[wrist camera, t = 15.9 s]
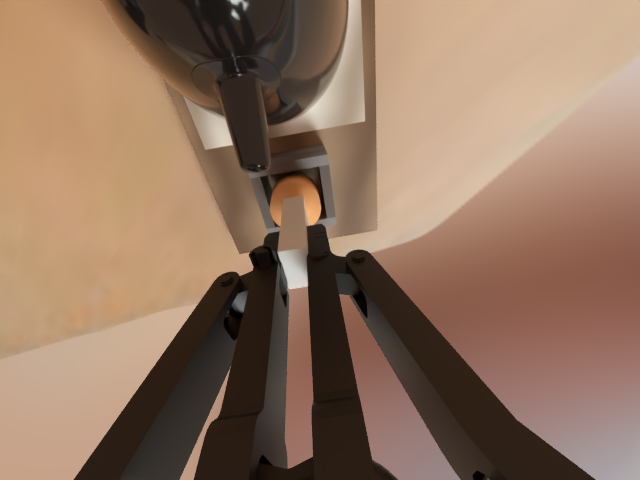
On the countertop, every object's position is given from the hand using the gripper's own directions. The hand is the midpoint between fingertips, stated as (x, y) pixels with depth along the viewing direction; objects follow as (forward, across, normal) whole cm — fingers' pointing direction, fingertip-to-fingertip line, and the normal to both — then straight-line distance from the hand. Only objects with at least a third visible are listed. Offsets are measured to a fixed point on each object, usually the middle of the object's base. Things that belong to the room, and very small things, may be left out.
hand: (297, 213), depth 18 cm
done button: (+4, 0, 0) cm, 4 cm away
